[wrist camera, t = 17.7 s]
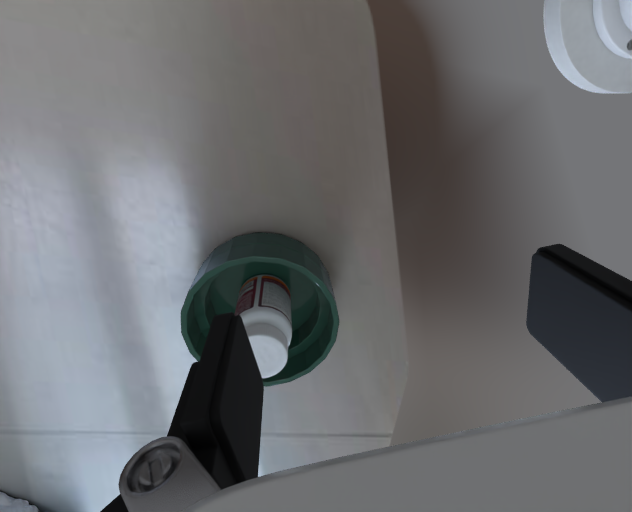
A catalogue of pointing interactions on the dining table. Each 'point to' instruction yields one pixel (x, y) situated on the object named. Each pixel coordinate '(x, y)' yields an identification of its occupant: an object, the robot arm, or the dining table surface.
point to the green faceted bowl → (273, 259)
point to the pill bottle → (266, 321)
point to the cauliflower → (15, 504)
